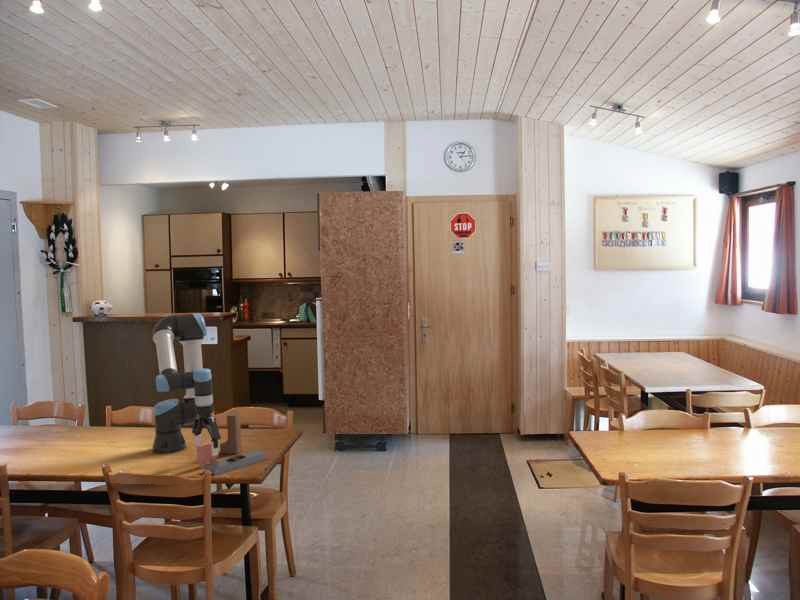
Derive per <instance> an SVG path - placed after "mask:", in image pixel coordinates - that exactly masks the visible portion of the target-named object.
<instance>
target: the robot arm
mask: <svg viewBox="0 0 800 600" xmlns="http://www.w3.org/2000/svg"><path fill="white" fill-rule="evenodd" d="M206 326H207V325H206V322H205V318H204V316H203V315H202V314H201V313H182V314H171V315H166V316H165V317H162V318H161V319H160V320H158V322H157V323H156V324H155V326H154V328H153V330H152V341H153V342H154V343H155V346H156V347H155V348H156V355H157V362H158V370H159V374H158V375H156V376H155V385H156V390H157V392H158V393H165V392H166V393H167V392H173V391H181V390H185V395H184V396H183V400H182V401H180V399H178V398H171V399H166V400H163V401H160V402H157V403H156V404H155V405H154V407H153V411H154V412H153V417H154V430H155V436H154V438H153V439H154V440H153V442H152V443H153V444H152V452H153V453H156V454H169V453H175V452H178V451H181V450H184V449H185V448H186V447H187V444H186V439H185V437H184V435H183V432H182V426H187V425H192V430H191V433H192V434H193V435H194V439H195V451H197V446H196V445H199V444H203V437H202V434H203V433H202V431H203V429H204V428H205V429H207V431H208V434H209V436H210V439H211V440H210V441H211V447H212V456H215V455H219V454H220V453H219V440H221V439H222V437H221V434H220V429H219V428H218V427H219V426H218V423H217V418H216V416H212V414H214V404H213V403H214V397H213V395H214V394H213V385H212V384H213V382H212V381H213V380H212V378H213V377H212V376H213V375H212V371H211V369H210V368H203V367H204V366H203V355H202V343H203V342H204V340H205V338H204V337H206V336H207V327H206ZM175 339H178V343H180V344H181V345H182V351H183V362H184V363H183V364H184V365H183V367H184V372H178V369H177V368H178V367H177V361H176V355H175V347H174V340H175Z"/></svg>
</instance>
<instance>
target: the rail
mask: <svg viewBox="0 0 800 600" xmlns="http://www.w3.org/2000/svg"><path fill="white" fill-rule="evenodd" d="M267 457H268V456H267V452H266V451H262V450H259V449H254V450H251V451H247V452H244V453H239V454H238V455H237V454H235V455H233V456H230V457H227V458H223V459H219V460H216V462H212V463H210V462H209V463H206V465H204V468H203V469H204V471H205V470H210V471H211V472H212V476H214V475H215V476H217V474H218V475H221V474H224V473H223V472H225V473H227V472H226V471H228V472H230V470H231V471H234V470H237V469H236V468H238V469H240V467H241V468H243V466H244V467H247V466H250V465H252V464H253V465H254V464H256V463H259V462H263V461H266V460H268V458H267ZM233 469H234V470H233Z"/></svg>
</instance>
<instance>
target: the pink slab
mask: <svg viewBox="0 0 800 600" xmlns="http://www.w3.org/2000/svg"><path fill="white" fill-rule="evenodd" d="M196 446H197V450H196V454H197V455H196V456H197V457H196V459H197V460H196V461H197V462H198V463H199V464H198V465H199V466H198V467H199V468H200V469H201V470H202V469H204V465H206V464H207V461H209V463H212V462H216V461H217V458H218V455H215V456H212V447H211V440H210V441H208V442H207V441H206V442H202V444H199V445H196V444H195V447H196Z"/></svg>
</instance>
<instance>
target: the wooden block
mask: <svg viewBox="0 0 800 600" xmlns="http://www.w3.org/2000/svg"><path fill="white" fill-rule="evenodd" d="M226 428H227V440H225V441H223V442H221V443H220V444H219V449H220V450H219V451H220V453H219V454H228V455H229V454H232V455H237V454H238V455H239V454H241V452H242V451H243V446H242V433H241V431H242V429H241V416H240V413H230V414H227V415H226Z"/></svg>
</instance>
